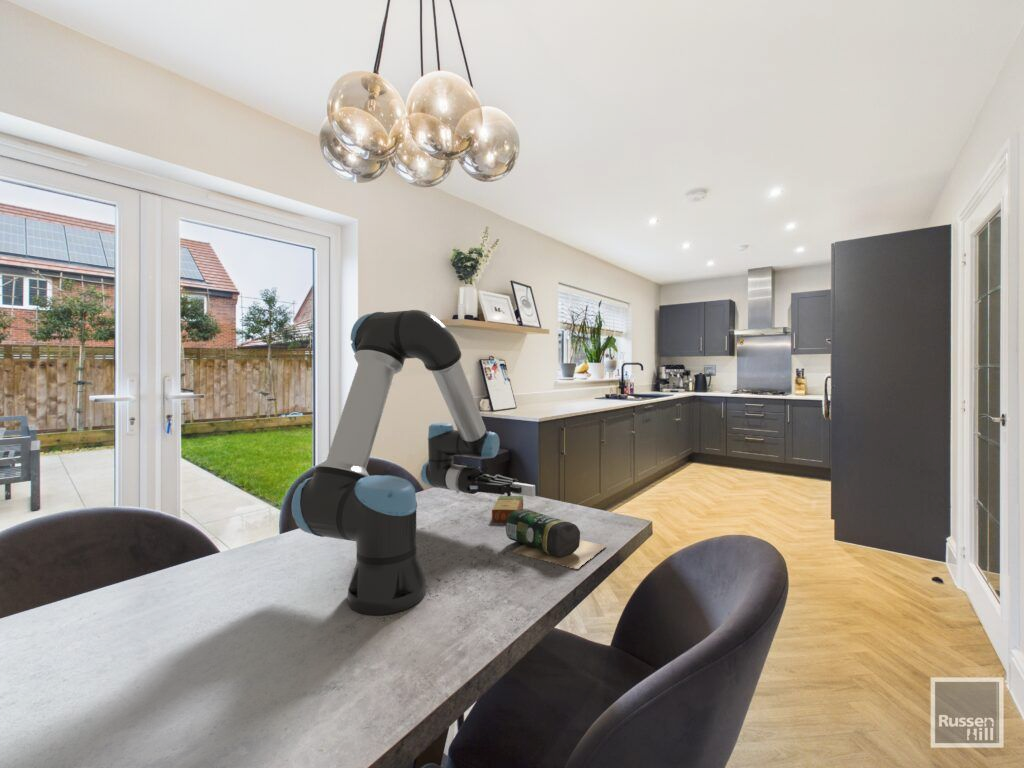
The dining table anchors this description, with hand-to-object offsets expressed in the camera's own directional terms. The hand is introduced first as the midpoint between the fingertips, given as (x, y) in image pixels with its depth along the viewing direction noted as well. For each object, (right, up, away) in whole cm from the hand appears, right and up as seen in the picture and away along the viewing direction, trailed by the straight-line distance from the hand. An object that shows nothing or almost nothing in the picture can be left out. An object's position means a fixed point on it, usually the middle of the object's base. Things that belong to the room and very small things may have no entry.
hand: (533, 491), depth 116 cm
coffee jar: (-4, -9, +4) cm, 11 cm away
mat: (+7, -14, -4) cm, 16 cm away
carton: (-7, -14, +26) cm, 30 cm away
